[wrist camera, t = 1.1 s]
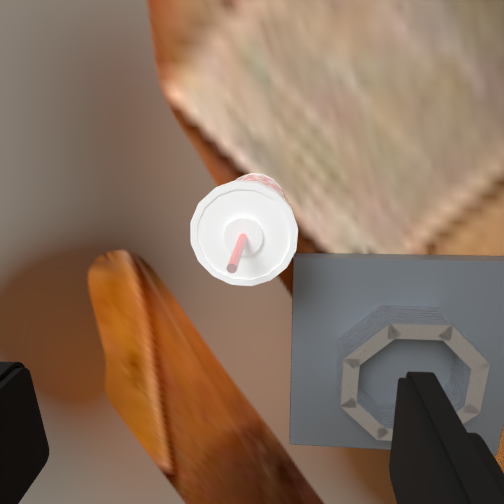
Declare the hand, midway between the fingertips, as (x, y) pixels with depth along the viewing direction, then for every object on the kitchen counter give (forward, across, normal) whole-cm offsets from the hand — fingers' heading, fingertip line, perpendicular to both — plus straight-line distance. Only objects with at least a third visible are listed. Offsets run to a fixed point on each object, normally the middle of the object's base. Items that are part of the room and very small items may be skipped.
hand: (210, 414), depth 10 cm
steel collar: (+21, -11, +13) cm, 27 cm away
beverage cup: (+23, +1, 0) cm, 23 cm away
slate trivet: (+22, -11, +13) cm, 28 cm away
